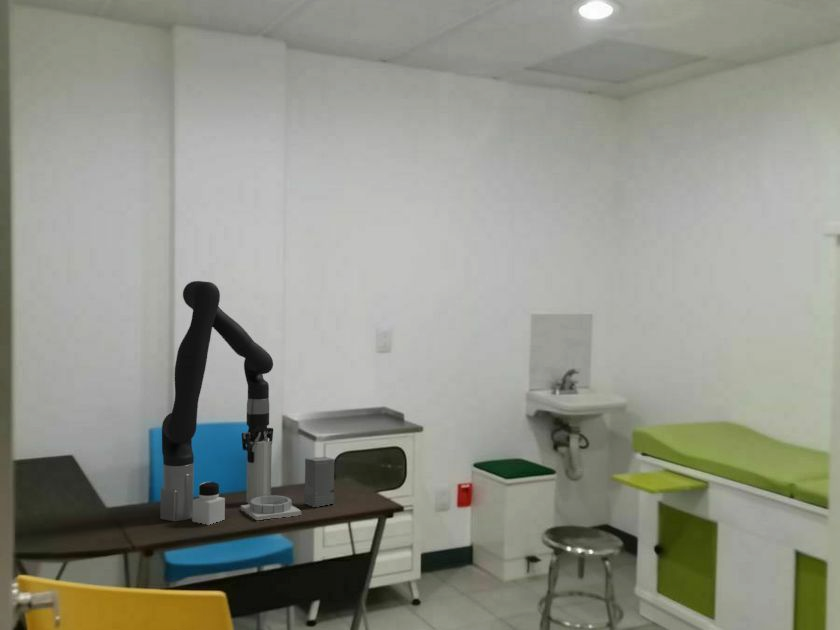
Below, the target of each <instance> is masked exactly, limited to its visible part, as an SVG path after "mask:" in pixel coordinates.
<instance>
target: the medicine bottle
mask: <svg viewBox="0 0 840 630" xmlns="http://www.w3.org/2000/svg"><path fill="white" fill-rule="evenodd" d="M225 502H226V498H225V497H221V496H220V485H219V483H218V482H215V481H205V482H201V483H199V485H198V497H197V498H193V514H192V518H191V520H192V523H196V522H197V524H200V523H202V524H201V525H205V524H206V525H205V526H211V525H213V523H214V524H217V523H216V522H218V523H220V521H221V522H223V521H222V520H224V521H225V518H226V517H225V516H226V511H225V510H226V503H225ZM210 524H211V525H210Z"/></svg>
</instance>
